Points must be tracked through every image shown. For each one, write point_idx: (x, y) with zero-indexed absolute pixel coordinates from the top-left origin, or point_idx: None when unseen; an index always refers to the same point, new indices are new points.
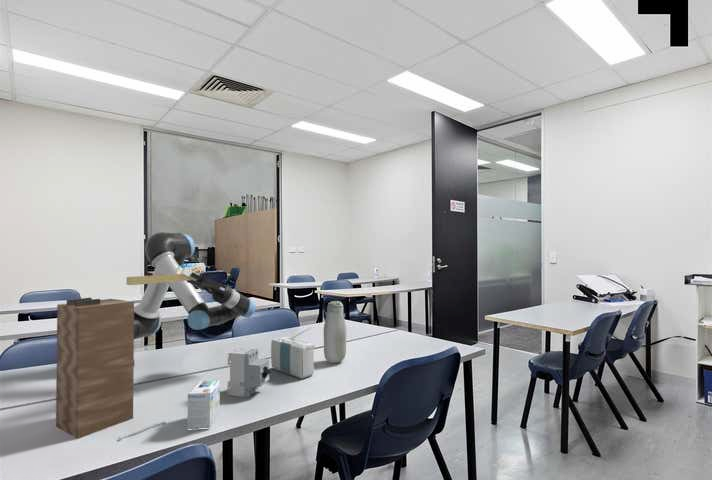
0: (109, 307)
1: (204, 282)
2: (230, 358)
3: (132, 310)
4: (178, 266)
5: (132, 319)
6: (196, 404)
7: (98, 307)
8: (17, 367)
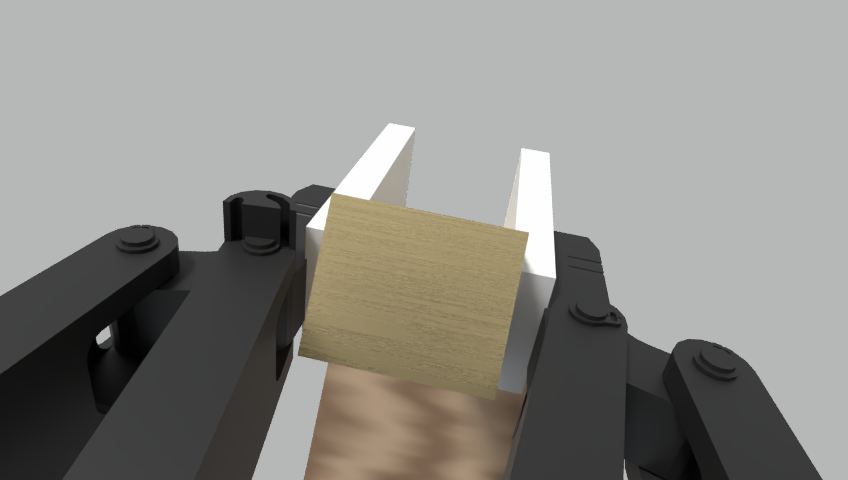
0: None
1: (113, 348)
2: None
3: (326, 373)
4: (545, 153)
5: (318, 415)
6: None
7: None
8: None
